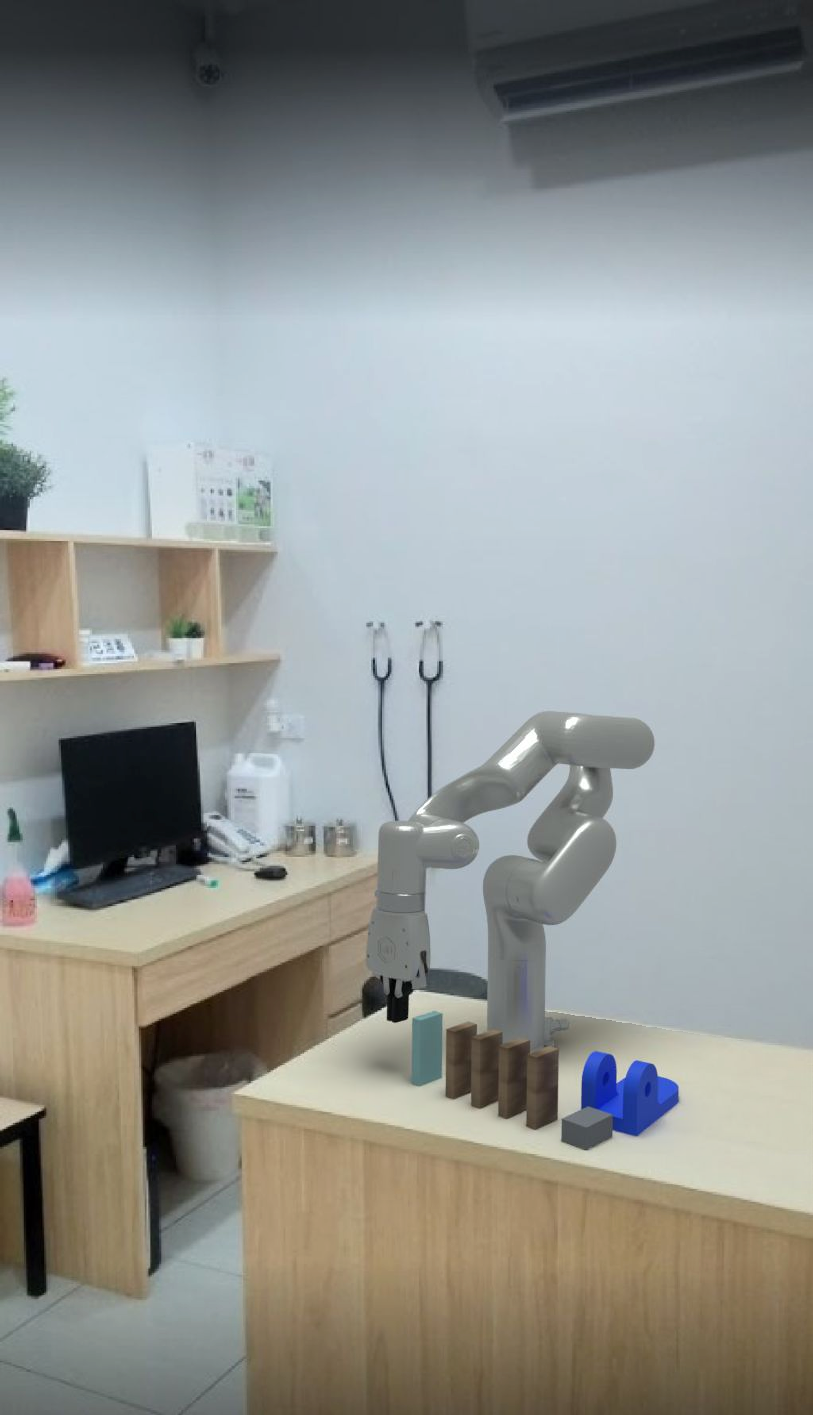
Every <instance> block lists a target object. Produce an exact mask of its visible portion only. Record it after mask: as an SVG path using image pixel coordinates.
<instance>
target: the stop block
mask: <svg viewBox="0 0 813 1415" xmlns="http://www.w3.org/2000/svg"><path fill="white" fill-rule="evenodd" d="M613 1132H614V1130H613V1115H612V1114H609V1113H606V1112H603V1111H600V1110H597V1109H594V1108H591V1107H589V1106H588V1107H586V1108H584V1109H581V1108H580V1109H579V1110H577V1111H575V1112H573V1113H571V1114H569V1115H566V1116H565V1117H563V1118H561V1137H560V1138H561V1140H560V1141H561V1142H564V1143H566V1144H569V1145H571V1146H574V1147H576V1148H578V1149H579V1148H580V1149H582V1150H585V1151H588V1150H589V1149H591V1148H593V1147H595V1146H597V1145H600V1144H601V1143H603V1142H606V1140H609V1139H611V1138H613Z"/></svg>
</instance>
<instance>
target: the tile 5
mask: <svg viewBox="0 0 813 1415" xmlns="http://www.w3.org/2000/svg"><path fill="white" fill-rule="evenodd" d="M559 1054H560V1049H559V1048H558V1047H555V1046H554V1047H552V1046H548V1047H545V1048H543V1049H540V1050H538V1051H535V1052H532V1053H530V1054H527V1111H526V1117H525V1118H526V1121H525V1122H526V1124H525V1125H526V1127H527V1128H529V1129H532V1130H536V1131H537V1130H538V1129H540V1128H543V1127H545V1126H547V1125H549V1124H551V1123H553V1122H556V1121H558V1119H559V1062H560V1061H559V1057H560V1056H559Z"/></svg>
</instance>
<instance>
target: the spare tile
mask: <svg viewBox="0 0 813 1415" xmlns="http://www.w3.org/2000/svg"><path fill="white" fill-rule="evenodd" d="M443 1014H444V1013H443V1012H441V1011H437V1010H433V1011H431V1012H427V1013H424V1014H421V1015H418V1016H415V1017H412V1018H411V1027H412V1031H411V1084H412V1085H415V1086H417V1087H421V1086H424V1085H427V1084H429V1083H432V1082H434V1081H437V1080H440V1079H442V1078H443Z"/></svg>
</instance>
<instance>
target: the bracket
mask: <svg viewBox="0 0 813 1415" xmlns="http://www.w3.org/2000/svg"><path fill="white" fill-rule="evenodd" d="M617 1068H618V1067H617V1061H616V1058H615V1057H614V1056H613V1054H610V1053H606V1052H602V1051H597V1050H594V1051H593V1052H591V1053H590V1054H589V1056H588V1057H587V1059H586V1060H585V1063H584V1066H583V1069H582V1075H581V1085H580V1086H581V1087H580V1089H581V1092H580V1094H581V1096H580V1110H581V1109H584V1108H586V1107H588V1106H589V1107H591V1108H594V1109H597V1110H600V1111H603V1112H606V1113H609V1114H612V1115H613V1132H619V1133H621V1134H625V1135H629V1136H632V1137H636V1138H637V1137H638V1136H639V1135H641V1134H642V1133H643V1132H644V1131H645V1130H647V1129H648V1128H650V1127H651V1125H653V1124H654V1123H655V1122H657V1121H658V1120H659V1119H660V1118H662V1117H663V1116H664V1115H666V1113H668V1112H669V1111H670V1110H671V1109H673V1108H674V1107H675V1106H677V1104H678V1103H679V1094H680V1093H679V1092H680V1090H679V1085H678V1083H677V1082H675V1081H673V1080H672V1079H670V1078H667V1077H662V1076H660V1075H658V1070H657V1067H656V1065H655V1064H654V1063H651V1062H646V1061H642V1060H634V1061H633V1062H632V1063H631V1064H630V1066H629V1068H628V1069H627V1073H626V1074H625V1077H623V1078H622V1079H621V1080H619V1081H617V1075H618V1072H617V1071H618V1070H617Z"/></svg>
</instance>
